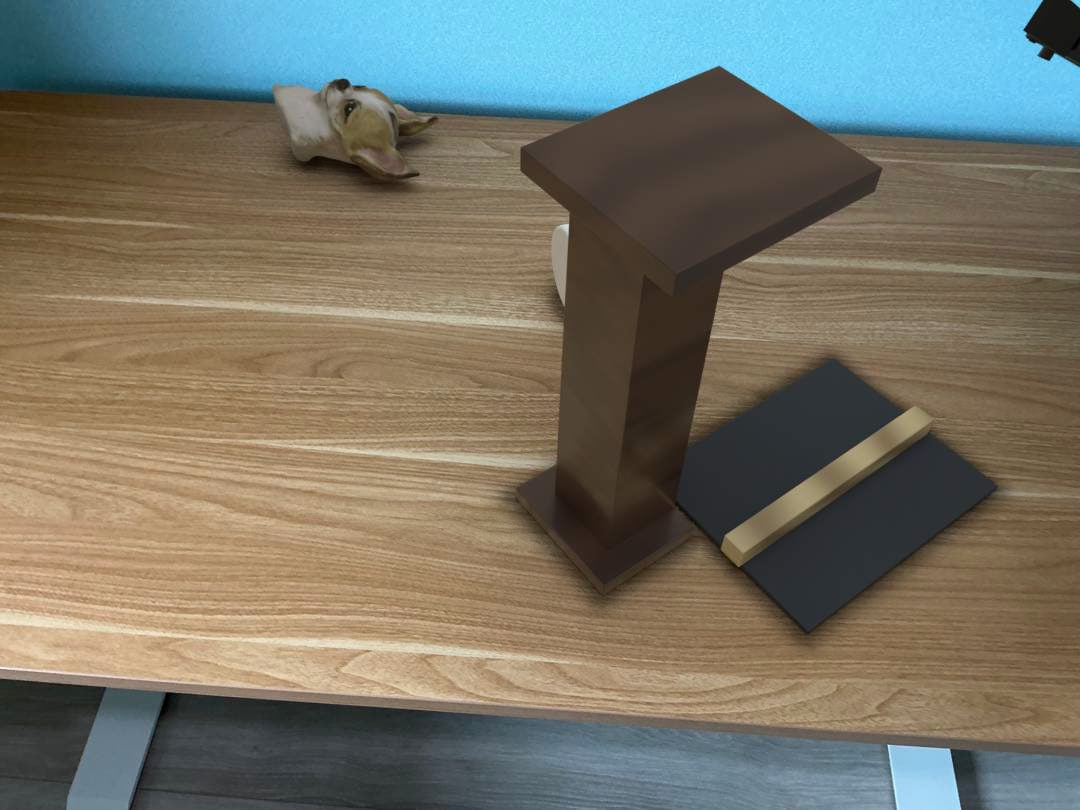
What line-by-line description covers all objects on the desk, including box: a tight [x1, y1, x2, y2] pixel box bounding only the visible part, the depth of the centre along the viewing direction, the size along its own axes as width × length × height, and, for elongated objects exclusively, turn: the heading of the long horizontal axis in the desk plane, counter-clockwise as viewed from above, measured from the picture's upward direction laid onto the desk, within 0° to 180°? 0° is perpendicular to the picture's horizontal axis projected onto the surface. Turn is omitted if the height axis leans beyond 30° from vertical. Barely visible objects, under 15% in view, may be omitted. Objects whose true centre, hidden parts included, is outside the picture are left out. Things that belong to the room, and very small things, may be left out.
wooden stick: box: [720, 405, 935, 568], centre depth 71 cm, size 20×2×2 cm, turn 127°
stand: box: [514, 65, 883, 597], centre depth 61 cm, size 12×15×28 cm
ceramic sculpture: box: [271, 78, 440, 181], centre depth 95 cm, size 11×9×15 cm
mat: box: [675, 357, 999, 635], centre depth 73 cm, size 16×20×1 cm
